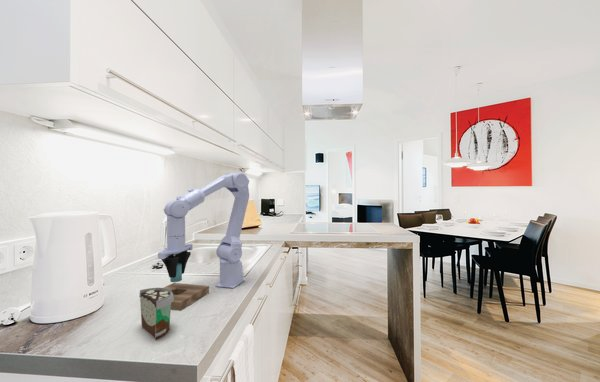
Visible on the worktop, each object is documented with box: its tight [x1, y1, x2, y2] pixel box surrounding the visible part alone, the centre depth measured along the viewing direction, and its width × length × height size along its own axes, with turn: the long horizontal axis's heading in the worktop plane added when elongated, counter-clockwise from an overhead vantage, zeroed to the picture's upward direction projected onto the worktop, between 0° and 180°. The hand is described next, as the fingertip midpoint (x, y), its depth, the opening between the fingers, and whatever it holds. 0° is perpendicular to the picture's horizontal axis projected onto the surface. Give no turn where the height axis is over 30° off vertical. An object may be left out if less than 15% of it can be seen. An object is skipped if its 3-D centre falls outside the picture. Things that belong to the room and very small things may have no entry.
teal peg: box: [169, 263, 183, 283], centre depth 94 cm, size 4×4×6 cm
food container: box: [138, 287, 174, 341], centre depth 74 cm, size 12×6×10 cm, turn 48°
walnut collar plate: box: [163, 282, 210, 311], centre depth 94 cm, size 15×15×2 cm
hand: (176, 275), depth 94 cm, fingers closed on teal peg, 4 cm apart
